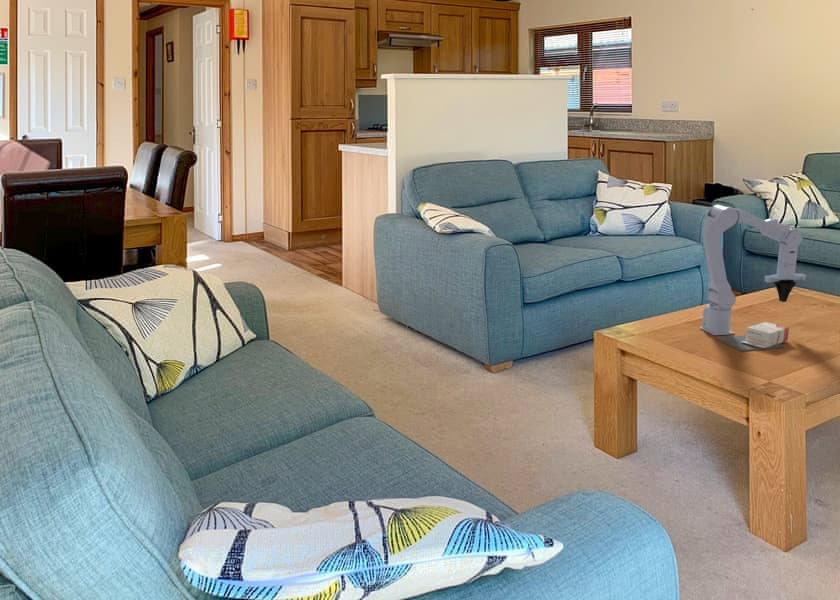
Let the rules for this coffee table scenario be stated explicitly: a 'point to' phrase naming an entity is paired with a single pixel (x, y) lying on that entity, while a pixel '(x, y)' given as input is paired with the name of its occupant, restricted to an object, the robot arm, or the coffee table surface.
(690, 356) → the coffee table surface
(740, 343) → the mat
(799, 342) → the coffee table surface
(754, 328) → the ink cartridge box
